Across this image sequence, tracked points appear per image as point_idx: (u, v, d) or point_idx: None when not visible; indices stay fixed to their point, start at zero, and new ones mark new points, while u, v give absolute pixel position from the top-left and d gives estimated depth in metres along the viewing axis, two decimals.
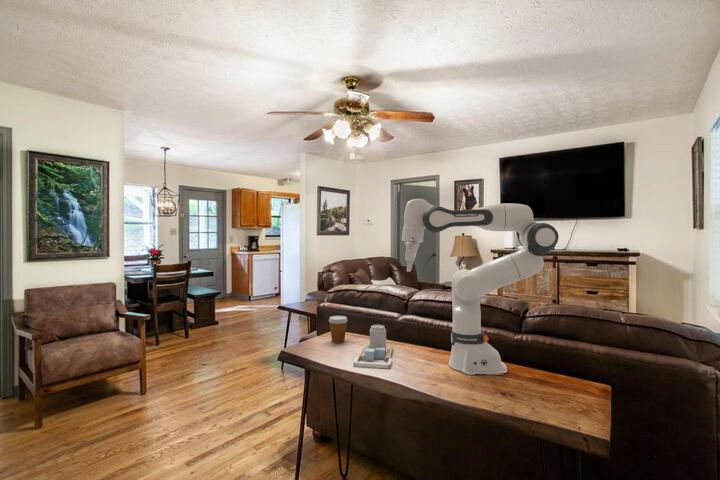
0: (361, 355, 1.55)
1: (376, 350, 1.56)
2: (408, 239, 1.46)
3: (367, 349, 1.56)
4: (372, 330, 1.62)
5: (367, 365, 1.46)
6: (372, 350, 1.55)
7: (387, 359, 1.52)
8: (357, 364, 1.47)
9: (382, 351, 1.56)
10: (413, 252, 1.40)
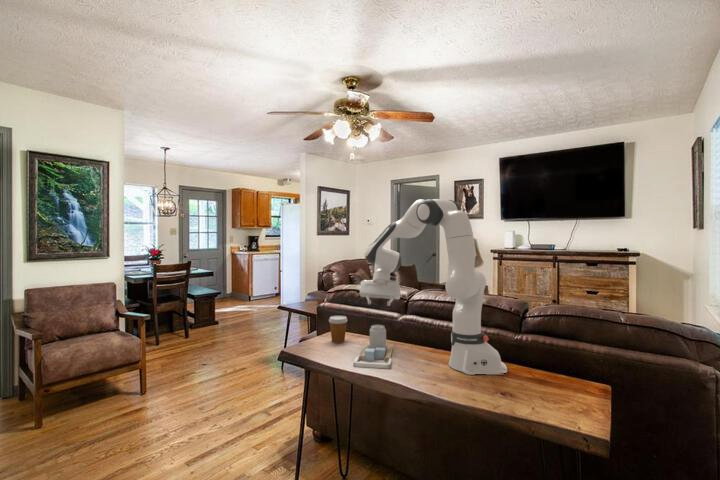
0: (361, 355, 1.55)
1: (376, 350, 1.56)
2: None
3: (367, 349, 1.56)
4: (372, 330, 1.62)
5: (367, 365, 1.46)
6: (372, 350, 1.55)
7: (387, 359, 1.52)
8: (357, 364, 1.47)
9: (382, 351, 1.56)
10: None
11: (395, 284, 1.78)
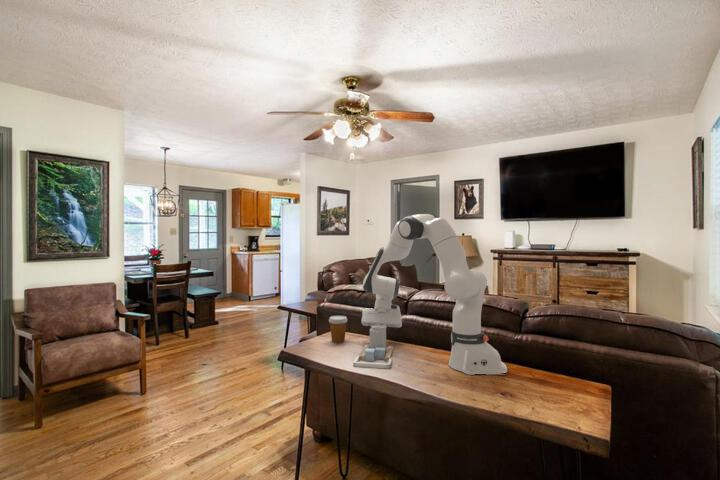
0: (361, 355, 1.55)
1: (376, 350, 1.56)
2: None
3: (367, 349, 1.56)
4: (372, 330, 1.62)
5: (367, 365, 1.46)
6: (372, 350, 1.55)
7: (387, 359, 1.52)
8: (357, 364, 1.47)
9: (382, 351, 1.56)
10: (362, 316, 1.81)
11: (396, 312, 1.79)
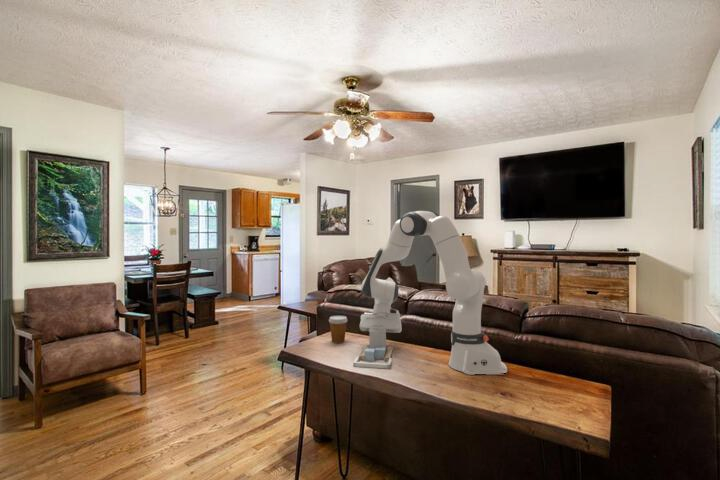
0: (361, 355, 1.55)
1: (376, 350, 1.56)
2: None
3: (367, 349, 1.56)
4: (372, 330, 1.62)
5: (367, 365, 1.46)
6: (372, 350, 1.55)
7: (387, 359, 1.52)
8: (357, 364, 1.47)
9: (382, 351, 1.56)
10: (360, 321, 1.75)
11: (395, 317, 1.73)
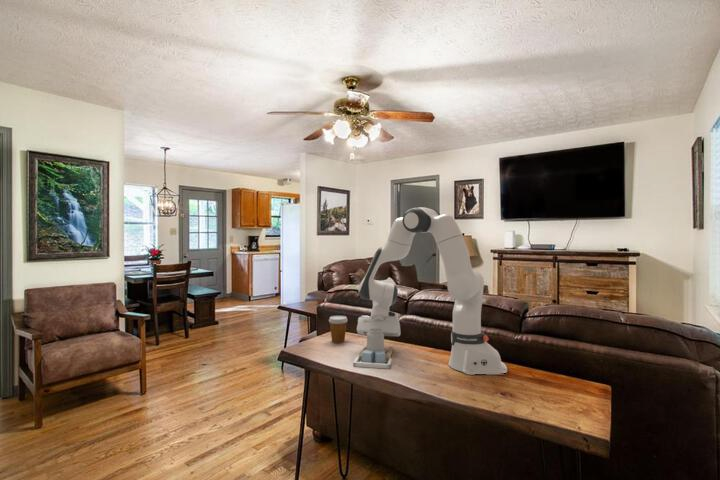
0: (361, 355, 1.55)
1: (377, 354, 1.50)
2: None
3: (366, 351, 1.54)
4: (369, 334, 1.55)
5: (367, 365, 1.46)
6: (370, 352, 1.52)
7: (387, 359, 1.52)
8: (357, 364, 1.47)
9: (383, 355, 1.50)
10: None
11: (394, 320, 1.66)
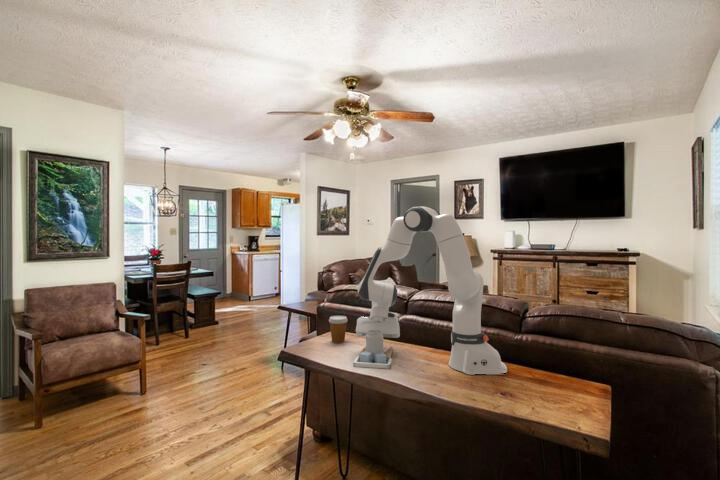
0: None
1: (378, 357, 1.48)
2: None
3: (364, 352, 1.52)
4: (369, 336, 1.53)
5: (367, 365, 1.46)
6: (368, 354, 1.50)
7: (387, 359, 1.52)
8: (357, 364, 1.47)
9: (384, 357, 1.48)
10: None
11: (394, 321, 1.64)
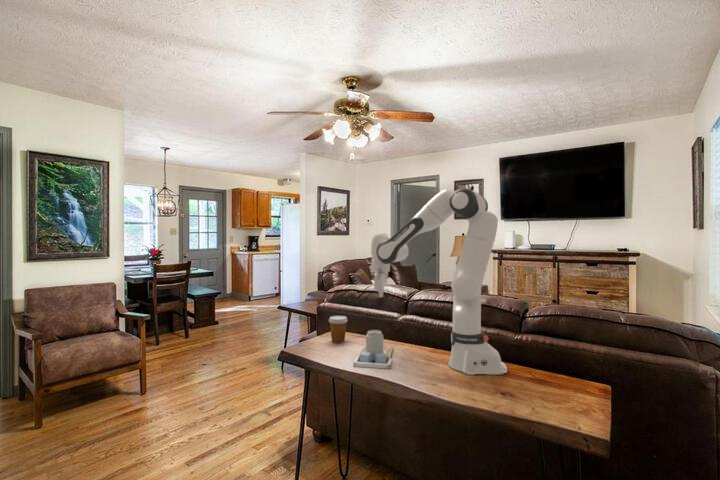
0: None
1: (378, 357, 1.48)
2: (376, 270, 1.68)
3: (364, 352, 1.52)
4: (369, 336, 1.53)
5: (367, 365, 1.46)
6: (368, 354, 1.50)
7: (387, 359, 1.52)
8: (357, 364, 1.47)
9: (384, 357, 1.48)
10: (380, 282, 1.62)
11: (387, 272, 1.79)
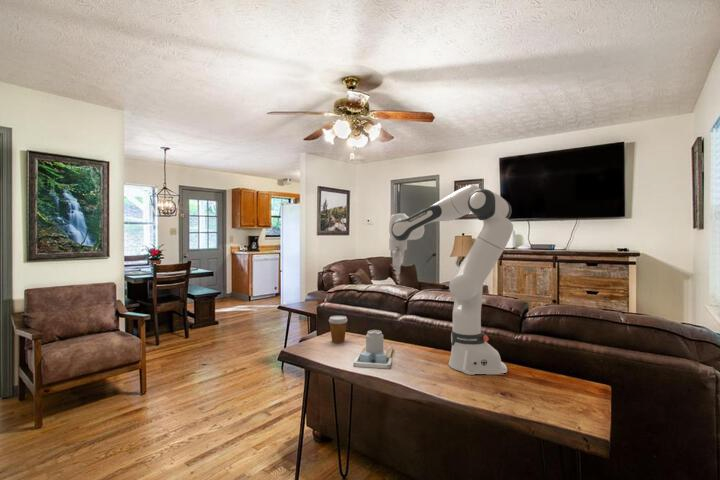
0: None
1: (378, 357, 1.48)
2: (394, 248, 1.74)
3: (364, 352, 1.52)
4: (369, 336, 1.53)
5: (367, 365, 1.46)
6: (368, 354, 1.50)
7: (387, 359, 1.52)
8: (357, 364, 1.47)
9: (384, 357, 1.48)
10: (399, 259, 1.68)
11: None
